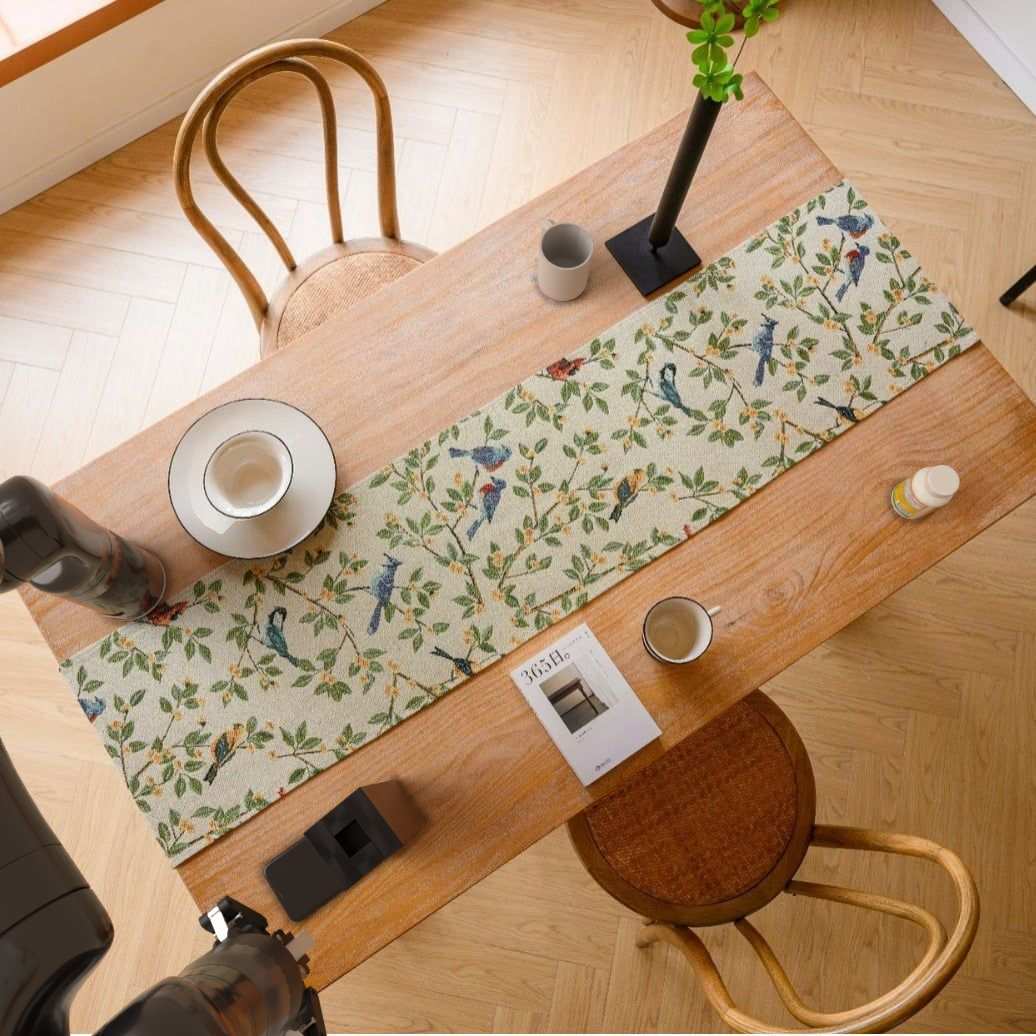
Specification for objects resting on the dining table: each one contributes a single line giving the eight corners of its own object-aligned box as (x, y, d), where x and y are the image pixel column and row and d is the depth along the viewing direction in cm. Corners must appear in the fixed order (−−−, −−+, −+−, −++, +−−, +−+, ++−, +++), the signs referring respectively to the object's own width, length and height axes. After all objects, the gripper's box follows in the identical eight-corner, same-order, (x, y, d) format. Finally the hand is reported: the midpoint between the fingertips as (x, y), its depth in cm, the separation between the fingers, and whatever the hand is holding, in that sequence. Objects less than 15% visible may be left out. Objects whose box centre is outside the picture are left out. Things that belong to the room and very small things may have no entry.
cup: (550, 310, 129) (554, 278, 120) (519, 253, 131) (521, 217, 122) (595, 290, 130) (602, 257, 121) (564, 234, 132) (569, 197, 123)
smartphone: (372, 787, 112) (260, 867, 110) (372, 787, 112) (258, 868, 109) (408, 842, 111) (295, 925, 108) (407, 843, 110) (293, 927, 107)
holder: (353, 814, 111) (302, 833, 82) (395, 779, 112) (359, 786, 83) (385, 857, 110) (345, 892, 81) (427, 821, 111) (402, 843, 82)
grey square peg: (290, 940, 80) (261, 965, 70) (305, 927, 80) (278, 950, 71) (301, 956, 80) (273, 983, 70) (316, 943, 80) (291, 968, 70)
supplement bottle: (889, 516, 122) (921, 497, 113) (891, 479, 124) (922, 456, 114) (929, 523, 122) (964, 503, 113) (930, 485, 123) (965, 462, 114)
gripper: (341, 1059, 58) (377, 992, 75) (217, 880, 60) (279, 854, 77) (243, 1145, 57) (302, 1057, 73) (121, 959, 59) (205, 915, 76)
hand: (290, 953), depth 75 cm, fingers closed on grey square peg, 1 cm apart
